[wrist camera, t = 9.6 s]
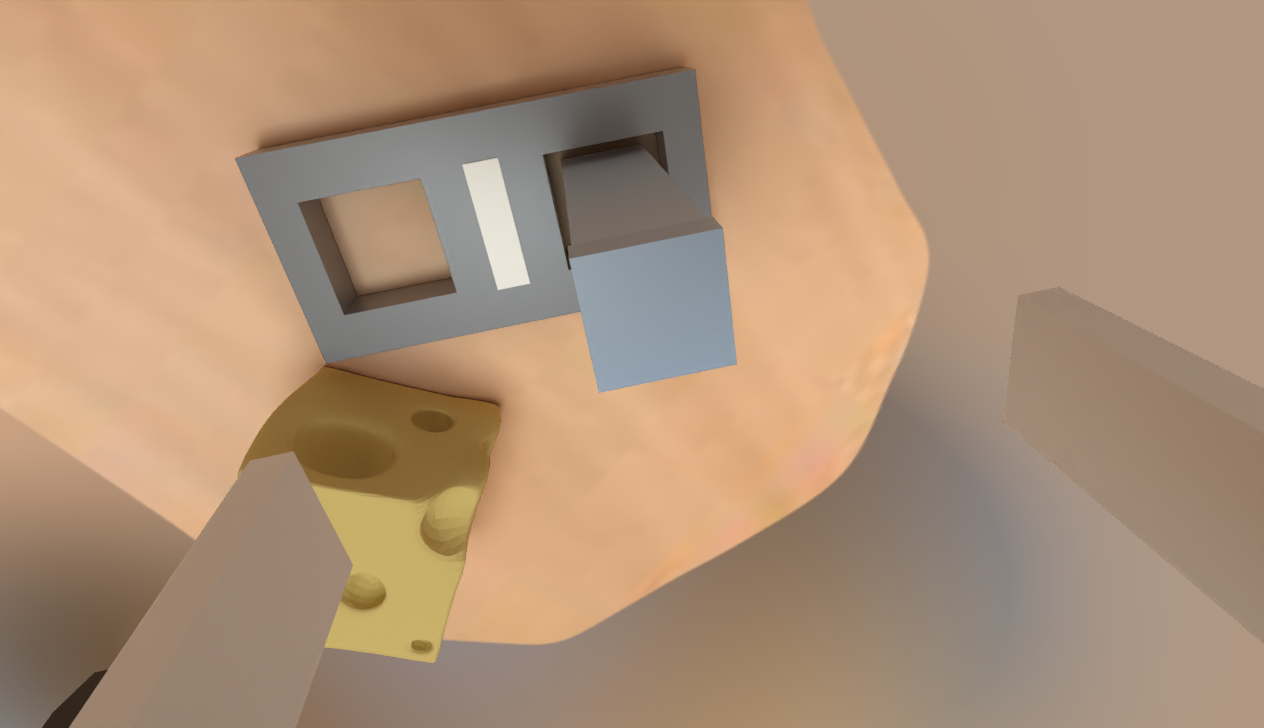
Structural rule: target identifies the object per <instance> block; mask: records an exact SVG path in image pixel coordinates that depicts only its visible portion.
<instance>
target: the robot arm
mask: <svg viewBox="0 0 1264 728" xmlns="http://www.w3.org/2000/svg"><path fill="white" fill-rule="evenodd" d="M1003 422H1004V423H1005V424H1006V425H1007V426H1008V427H1010V428H1011V429H1012V430H1013V431H1014V432H1015V433H1017V434H1018V435H1019V436H1020V437H1021V438H1022V439H1024V440H1025V441H1026V442H1027V443H1028V444H1030V445H1031V446H1032V447H1033V448H1034V449H1036V450H1037V451H1038V452H1039V453H1040V454H1041V455H1042V456H1044V457H1045V458H1046V459H1047V460H1048V461H1049V462H1051V463H1052V464H1053V465H1054V466H1055V467H1057V468H1058V469H1059V470H1060V471H1061V472H1062V473H1064V474H1065V475H1066V476H1067V477H1068V478H1069V479H1071V480H1072V481H1073V482H1074V483H1075V484H1077V485H1078V486H1079V487H1080V488H1081V489H1083V490H1084V491H1085V492H1086V493H1087V494H1088V495H1089V496H1091V497H1092V498H1093V499H1094V500H1095V501H1096V502H1098V503H1099V504H1100V505H1101V506H1102V507H1103V508H1105V509H1106V510H1107V511H1108V512H1109V513H1111V514H1112V515H1113V516H1114V517H1115V518H1116V519H1118V520H1119V521H1120V522H1121V523H1122V524H1123V525H1125V526H1126V527H1127V528H1128V529H1129V530H1130V531H1132V532H1133V533H1134V534H1135V535H1136V536H1138V537H1139V538H1140V539H1141V540H1142V541H1143V542H1145V543H1146V544H1147V545H1148V546H1149V547H1151V548H1152V549H1153V550H1154V551H1155V552H1156V553H1158V554H1159V555H1160V556H1161V557H1162V558H1163V559H1165V560H1166V561H1167V562H1168V563H1169V564H1170V565H1172V566H1173V567H1174V568H1175V569H1176V570H1177V571H1179V572H1180V573H1181V574H1182V575H1183V576H1184V577H1186V578H1187V579H1188V580H1189V581H1190V582H1192V583H1193V584H1194V585H1195V586H1196V587H1197V588H1199V589H1200V590H1201V591H1202V592H1203V593H1205V594H1206V595H1207V596H1208V597H1209V598H1210V599H1212V600H1213V601H1214V602H1215V603H1216V604H1217V605H1219V606H1220V607H1221V608H1222V609H1223V610H1224V611H1226V612H1227V613H1228V614H1229V615H1230V616H1231V617H1233V618H1234V619H1235V620H1236V621H1237V622H1238V623H1240V624H1241V625H1242V626H1243V627H1244V628H1246V629H1247V630H1248V631H1249V632H1250V633H1251V634H1253V635H1254V636H1255V637H1256V638H1257V639H1258V640H1260V641H1261V642H1262V643H1263V644H1264V389H1263V388H1261V387H1259V386H1257V385H1255V384H1253V383H1251V382H1249V381H1247V380H1245V379H1243V378H1241V377H1239V376H1237V375H1235V374H1233V373H1231V372H1229V371H1227V370H1225V369H1223V368H1221V367H1219V366H1217V365H1215V364H1213V363H1211V362H1209V361H1207V360H1205V359H1203V358H1201V357H1199V356H1197V355H1195V354H1193V353H1191V352H1189V351H1187V350H1184V349H1183V348H1181V347H1179V346H1177V345H1175V344H1173V343H1171V342H1169V341H1167V340H1165V339H1163V338H1161V337H1158V336H1157V335H1154V334H1153V333H1151V332H1149V331H1147V330H1145V329H1143V328H1141V327H1139V326H1137V325H1135V324H1133V323H1131V322H1129V321H1127V320H1125V319H1123V318H1121V317H1119V316H1117V315H1115V314H1113V313H1111V312H1109V311H1107V310H1105V309H1103V308H1101V307H1099V306H1097V305H1095V304H1092V303H1090V302H1089V301H1087V300H1085V299H1083V298H1080V297H1079V296H1077V295H1074V294H1072V293H1070V292H1068V291H1066V290H1064V289H1062V288H1060V287H1056V288H1051V289H1047V290H1042V291H1037V292H1033V293H1028V294H1023V295H1018V301H1017V309H1016V317H1015V326H1014V334H1013V342H1012V350H1011V358H1010V366H1009V375H1008V384H1007V391H1006V400H1005V409H1004V416H1003ZM352 567H353V564H352V562H351V560H350V558H349V556H348V554H347V552H346V550H345V548H344V546H343V545H342V543H341V541H340V539H339V537H338V535H337V533H336V531H335V529H334V527H333V526H332V524H331V522H330V520H329V518H328V516H327V514H326V512H325V510H324V508H323V506H322V505H321V503H320V501H319V499H318V497H317V495H316V493H315V491H314V489H313V487H312V486H311V484H310V482H309V480H308V478H307V476H306V474H305V472H304V470H303V468H302V466H301V465H300V463H299V461H298V459H297V457H296V455H295V453H294V451H292V452H288V453H283V454H278V455H274V456H269V457H264V458H260V459H255V460H250V461H249V463H248V464H247V465H246V467H245V468H244V470H243V471H242V473H241V474H240V476H239V477H238V479H237V480H236V482H235V483H234V485H233V486H232V488H231V489H230V491H229V492H228V494H227V495H226V496H225V498H224V499H223V501H222V502H221V504H220V505H219V507H218V508H217V510H216V511H215V513H214V514H213V516H212V517H211V519H210V520H209V522H208V523H207V525H206V526H205V527H204V529H203V530H202V532H201V533H200V535H199V536H198V538H197V539H196V541H195V542H194V544H193V545H192V547H191V548H190V550H189V551H188V553H187V554H186V556H185V557H184V558H183V560H182V561H181V563H180V565H179V566H178V567H177V569H176V570H175V572H174V573H173V575H172V576H171V578H170V579H169V581H168V582H167V584H166V585H165V587H164V588H163V590H162V591H161V593H160V594H159V595H158V597H157V598H156V600H155V601H154V603H153V604H152V606H151V607H150V609H149V610H148V612H147V613H146V615H145V616H144V618H143V619H142V620H141V622H140V624H139V625H138V626H137V628H136V629H135V631H134V632H133V634H132V635H131V637H130V638H129V640H128V641H127V643H126V644H125V646H124V647H123V649H122V650H121V652H120V653H119V655H118V656H117V657H116V659H115V660H114V662H113V663H112V665H111V666H110V668H109V669H108V670H104V671H100V672H95V673H94V674H93V675H92V676H91V677H89V678H88V679H87V680H86V681H85V682H84V683H83V684H82V685H81V686H80V687H79V688H78V689H77V690H76V691H75V692H74V693H73V694H72V695H71V696H70V697H69V698H68V699H66V701H64V702H63V703H62V704H61V705H60V706H59V707H58V708H57V709H56V710H55V711H54V712H53V713H52V714H51V716H50V718H49V719H48V720H47V722H46V723H45V724H44V726H43V727H42V728H296V725H297V723H298V720H299V717H300V714H301V711H302V708H303V705H304V703H305V700H306V697H307V694H308V691H309V688H310V686H311V683H312V680H313V677H314V674H315V671H316V668H317V666H318V663H319V660H320V657H321V654H322V652H323V649H324V646H325V643H326V640H327V637H328V635H329V632H330V629H331V626H332V623H333V620H334V618H335V615H336V612H337V609H338V606H339V603H340V601H341V598H342V595H343V592H344V589H345V586H346V584H347V581H348V578H349V575H350V572H351V569H352Z"/></svg>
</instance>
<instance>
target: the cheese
mask: <svg viewBox="0 0 1264 728" xmlns="http://www.w3.org/2000/svg"><path fill="white" fill-rule="evenodd" d="M500 423H501V411H500V408H499V406H498V405H495V404H493V403H489V402H484V401H478V400H472V399H464V398H457V397H451V396H446V395H441V394H436V393H432V392H428V391H424V390H420V389H415V388H411V387H406V386H402V385H397V384H393V383H389V382H385V381H381V380H377V379H373V378H369V377H365V376H361V375H357V374H353V373H350V372H346V371H342V370H338V369H333V368H329V367H323V368H322V369H321V370H320V371H319V372H318V373H317V374H316V375H314V376H313V377H312V378H311V379H309V380H308V381H307V382H306V383H304V384H303V385H302V386H301V387H299V388H298V389H297V390H296V391H295V392H294V393H292V394H291V395H290V396H289V397H288V398H287V399H286V400H285V401H284V402H283V403H282V404H281V405H280V406H279V407H278V408H277V409H276V410H275V411H274V412H273V413H272V415H271V416H270V417H269V418H268V420H267V421H266V422H265V424H264V425H263V427H262V428H261V430H260V431H259V433H258V435H257V436H256V438H255V440H254V441H253V443H252V445H251V447H250V448H249V450H248V452H247V454H246V456H245V458H244V460H243V462H242V465H241V467H240V469H239V472H238V477H239V476H240V474H241V473H242V471H243V470H244V468H245V467H246V465H247V464H248V463H249V461H250V460H255V459H260V458H264V457H269V456H274V455H278V454H283V453H288V452H292V451H294V453H295V455H296V457H297V459H298V461H299V463H300V465H301V466H302V468H303V470H304V472H305V474H306V476H307V478H308V480H309V482H310V484H311V486H312V487H313V489H314V491H315V493H316V495H317V497H318V499H319V501H320V503H321V505H322V506H323V508H324V510H325V512H326V514H327V516H328V518H329V520H330V522H331V524H332V526H333V527H334V529H335V531H336V533H337V535H338V537H339V539H340V541H341V543H342V545H343V546H344V548H345V550H346V552H347V554H348V556H349V558H350V560H351V562H352V564H353V567H352V569H351V572H350V575H349V578H348V581H347V584H346V586H345V589H344V592H343V595H342V598H341V601H340V603H339V606H338V609H337V612H336V615H335V618H334V620H333V623H332V626H331V629H330V632H329V635H328V637H327V640H326V643H325V646H324V647H327V648H337V649H345V650H354V651H360V652H368V653H374V654H381V655H388V656H394V657H400V658H405V659H410V660H417V661H423V662H430V663H433V662H435V661H436V659H437V657H438V654H439V650H440V646H441V642H442V638H443V635H444V631H445V627H446V623H447V619H448V615H449V612H450V609H451V605H452V602H453V599H454V595H455V592H456V589H457V587H458V584H459V581H460V578H461V576H462V573H463V569H464V565H465V561H466V551H467V544H468V538H469V534H470V529H471V525H472V522H473V518H474V515H475V511H476V508H477V505H478V502H479V500H480V497H481V495H482V492H483V489H484V487H485V484H486V481H487V477H488V472H489V467H490V457H489V456H490V453H491V450H492V447H493V445H494V442H495V440H496V437H497V434H498V431H499V428H500Z"/></svg>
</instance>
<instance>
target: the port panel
mask: <svg viewBox="0 0 1264 728" xmlns="http://www.w3.org/2000/svg"><path fill="white" fill-rule="evenodd" d="M655 132H656V137H657V144H658V151H659V158H660V165H661V167H662V168H663V169H664V170H665V171H666V173H667V174H668V175H669V176H670V177H671V178H672V179H673V180H674V182H675V183H676V184H677V185H678V186H679V187H680V188H681V189H682V191H683V192H684V193H685V194H686V195H687V196H688V197H689V199H690V200H691V201H692V202H693V203H694V204H695V205H696V206H697V208H698V209H699V210H700V211H701V212H702V213H703V214H704V215H705V217H706V218H710V217H711V208H710V199H709V190H708V181H707V172H706V163H705V154H704V145H703V136H702V127H701V118H700V110H699V101H698V92H697V83H696V74H695V69H691V68H687V67H681V68H676V69H670V70H665V71H660V72H655V73H650V74H645V75H639V76H634V77H629V78H624V79H619V80H614V81H608V82H603V83H598V84H593V85H588V86H583V87H577V88H572V89H567V90H562V91H557V92H552V93H546V94H541V95H536V96H531V97H526V98H521V99H515V100H510V101H505V102H500V103H495V104H490V105H484V106H479V107H474V108H469V109H464V110H459V111H453V112H448V113H443V114H438V115H433V116H428V117H422V118H417V119H412V120H407V121H402V122H397V123H391V124H386V125H381V126H376V127H371V128H366V129H360V130H355V131H350V132H345V133H340V134H334V135H329V136H324V137H319V138H314V139H309V140H303V141H298V142H293V143H288V144H283V145H278V146H272V147H267V148H262V149H258V150H255V151H253V152H250V153H247V154H245V155H242V156H240V157H237V158H235V160H236V162H237V164H238V166H239V169H240V171H241V173H242V175H243V178H244V180H245V182H246V184H247V187H248V189H249V191H250V193H251V196H252V198H253V200H254V202H255V205H256V207H257V209H258V211H259V214H260V216H261V218H262V220H263V223H264V225H265V227H266V229H267V232H268V234H269V236H270V238H271V241H272V243H273V245H274V247H275V250H276V252H277V254H278V256H279V259H280V261H281V263H282V265H283V268H284V270H285V272H286V274H287V277H288V279H289V281H290V283H291V286H292V288H293V290H294V292H295V295H296V297H297V299H298V301H299V304H300V306H301V308H302V310H303V313H304V315H305V317H306V319H307V322H308V324H309V326H310V328H311V331H312V333H313V335H314V337H315V340H316V342H317V344H318V346H319V349H320V351H321V353H322V355H323V358H324V360H325V362H326V363H331V362H336V361H341V360H345V359H350V358H355V357H360V356H365V355H370V354H375V353H380V352H385V351H390V350H395V349H399V348H404V347H409V346H414V345H419V344H424V343H429V342H434V341H439V340H444V339H449V338H454V337H458V336H463V335H468V334H473V333H478V332H483V331H488V330H493V329H498V328H503V327H508V326H512V325H517V324H522V323H527V322H532V321H537V320H542V319H547V318H552V317H557V316H562V315H567V314H571V313H576V312H581V310H580V306H579V301H578V297H577V293H576V288H575V284H574V279H573V275H572V270H571V266H570V261H569V254H568V255H567V252H566V248H565V243H564V239H563V234H562V230H561V225H560V221H559V217H558V212H557V208H556V203H555V199H554V194H553V190H552V185H551V181H550V176H549V172H548V167H547V163H546V159H545V154H548V153H553V152H558V151H564V150H569V149H574V148H579V147H584V146H589V145H594V144H599V143H604V142H609V141H615V140H620V139H625V138H630V137H635V136H640V135H645V134H650V133H655ZM416 179H421V181H422V184H423V187H424V191H425V194H426V197H427V200H428V203H429V206H430V209H431V213H432V216H433V219H434V222H435V225H436V228H437V232H438V235H439V238H440V241H441V244H442V247H443V250H444V254H445V257H446V260H447V263H448V266H449V269H450V272H451V276H452V278H448V279H444V280H439V281H434V282H429V283H424V284H419V285H414V286H409V287H404V288H399V289H394V290H389V291H384V292H379V293H374V294H369V295H364V296H359V297H357V294H356V292H355V289H354V287H353V284H352V282H351V279H350V277H349V274H348V272H347V269H346V266H345V264H344V261H343V259H342V256H341V254H340V251H339V249H338V246H337V244H336V241H335V239H334V236H333V234H332V231H331V229H330V226H329V224H328V221H327V219H326V216H325V214H324V211H323V208H322V206H321V203H320V201H319V198H324V197H329V196H334V195H339V194H344V193H349V192H355V191H360V190H365V189H370V188H375V187H380V186H385V185H390V184H395V183H400V182H406V181H411V180H416Z"/></svg>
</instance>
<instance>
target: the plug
mask: <svg viewBox="0 0 1264 728" xmlns="http://www.w3.org/2000/svg"><path fill="white" fill-rule="evenodd" d="M561 166H562V174H563V182H564V190H565V198H566V206H567V214H568V222H569V230H570V238H571V245H570V246H568V254H569V261H570V266H571V270H572V275H573V279H574V284H575V288H576V293H577V297H578V301H579V306H580V310H581V315H582V319H583V324H584V328H585V333H586V337H587V342H588V346H589V351H590V355H591V360H592V364H593V369H594V373H595V377H596V382H597V386H598V391H599V393H600V392H605V391H610V390H615V389H620V388H625V387H629V386H634V385H639V384H644V383H649V382H653V381H658V380H663V379H668V378H673V377H678V376H682V375H687V374H692V373H697V372H702V371H706V370H711V369H716V368H721V367H726V366H730V365H735V364H737V361H736V351H735V341H734V332H733V322H732V313H731V303H730V293H729V284H728V274H727V265H726V255H725V245H724V236H723V228H722V227H721V226H720V225H719V223H718V222H717V221H716V220H715V219H714V218H713V217H710V218H706V217H705V215H704V214H703V213H702V212H701V211H700V210H699V209H698V208H697V206H696V205H695V204H694V203H693V202H692V201H691V200H690V199H689V197H688V196H687V195H686V194H685V193H684V192H683V191H682V189H681V188H680V187H679V186H678V185H677V184H676V183H675V182H674V180H673V179H672V178H671V177H670V176H669V175H668V174H667V173H666V171H665V170H664V169H663V168H662V167H661V166H660V165H659V163H658V162H657V161H656V160H655V159H654V158H653V157H652V156H651V154H650V153H649V152H648V151H647V150H646V149H645V148H644V147H643V145H642V144H638V145H633V146H628V147H623V148H618V149H613V150H608V151H603V152H598V153H592V154H587V155H582V156H577V157H572V158H567V159H562V160H561Z"/></svg>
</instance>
